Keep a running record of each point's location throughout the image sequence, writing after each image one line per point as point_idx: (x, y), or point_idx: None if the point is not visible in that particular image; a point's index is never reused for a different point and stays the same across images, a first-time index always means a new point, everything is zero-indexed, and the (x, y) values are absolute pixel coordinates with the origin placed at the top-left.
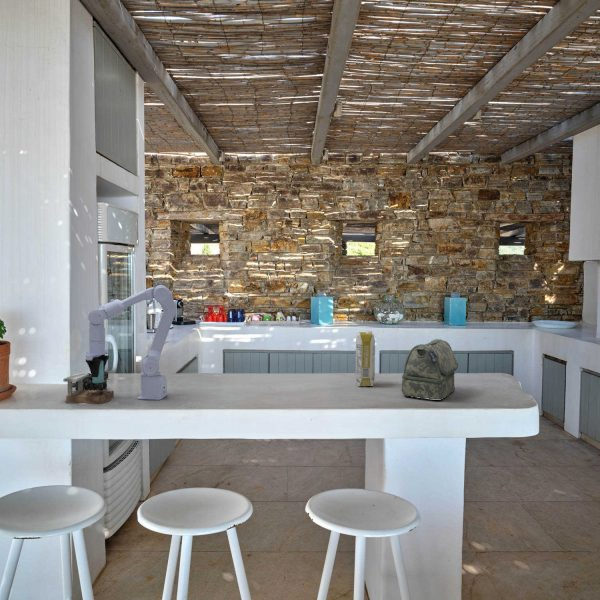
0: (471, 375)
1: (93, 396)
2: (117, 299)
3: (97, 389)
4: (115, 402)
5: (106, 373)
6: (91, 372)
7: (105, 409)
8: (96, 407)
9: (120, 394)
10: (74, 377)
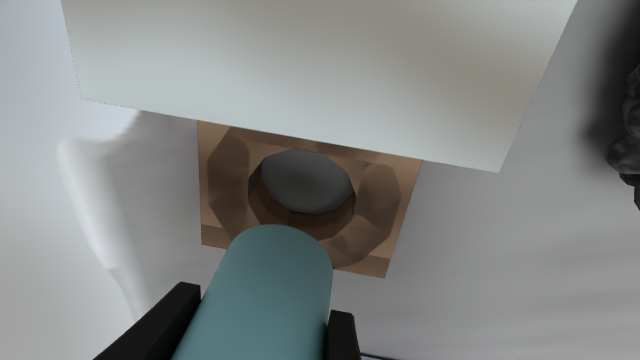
0: None
1: (213, 188)
2: None
3: (627, 108)
4: None
5: None
6: (136, 330)
7: (114, 251)
8: (138, 204)
9: (463, 269)
10: (189, 24)
